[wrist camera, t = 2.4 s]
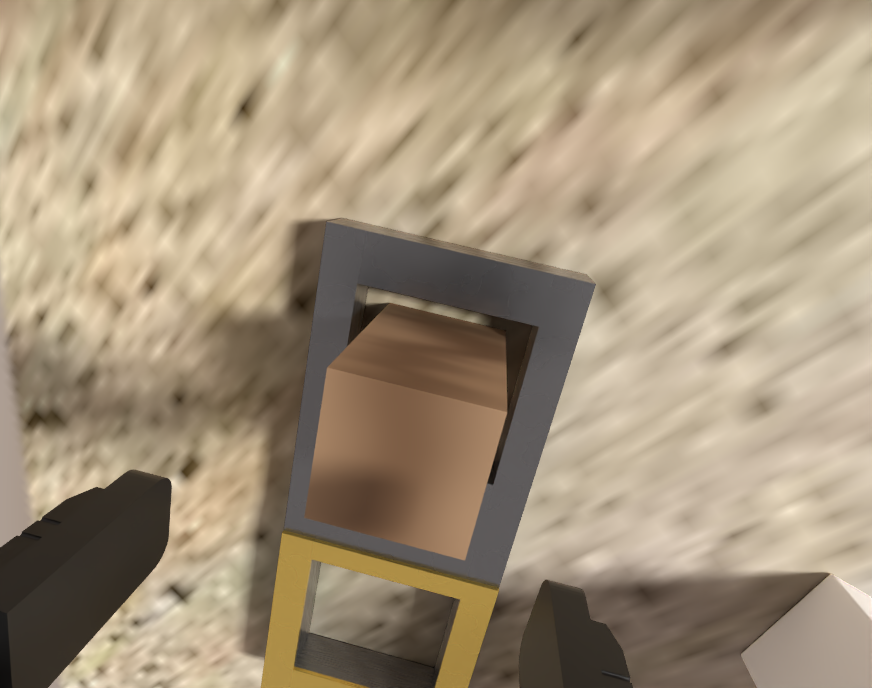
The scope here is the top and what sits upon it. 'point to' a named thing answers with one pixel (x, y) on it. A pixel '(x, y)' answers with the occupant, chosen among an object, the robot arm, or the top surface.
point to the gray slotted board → (509, 477)
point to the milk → (817, 642)
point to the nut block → (410, 430)
